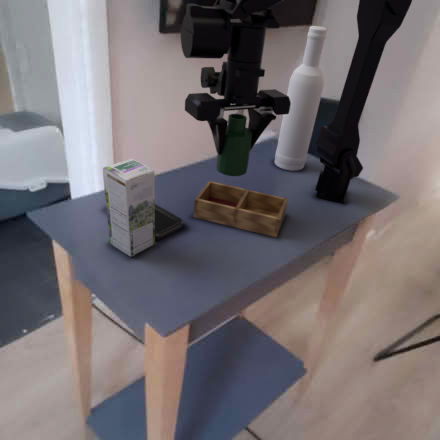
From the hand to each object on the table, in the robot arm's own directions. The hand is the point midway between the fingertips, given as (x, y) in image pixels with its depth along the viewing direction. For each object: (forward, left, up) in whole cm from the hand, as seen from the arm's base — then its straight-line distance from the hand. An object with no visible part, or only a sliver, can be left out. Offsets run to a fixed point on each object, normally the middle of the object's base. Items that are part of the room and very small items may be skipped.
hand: (233, 152), depth 75 cm
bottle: (-8, -29, -12) cm, 32 cm away
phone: (+14, +11, -12) cm, 21 cm away
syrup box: (+12, +20, -12) cm, 26 cm away
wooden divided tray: (-3, +2, -12) cm, 13 cm away
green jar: (0, 0, -4) cm, 4 cm away
